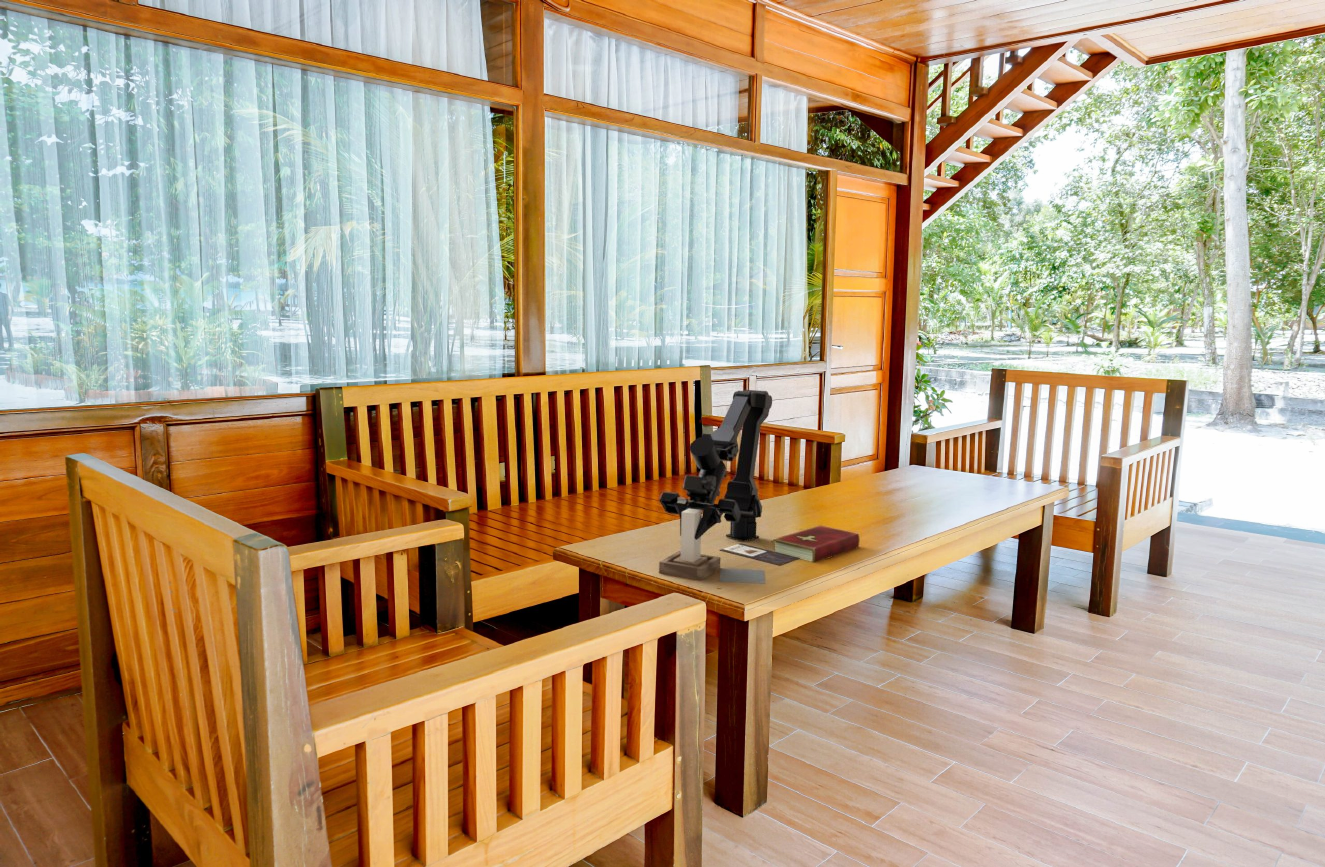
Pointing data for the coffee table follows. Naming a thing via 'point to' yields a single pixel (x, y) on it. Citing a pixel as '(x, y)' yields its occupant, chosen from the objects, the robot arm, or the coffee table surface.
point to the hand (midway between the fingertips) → (688, 537)
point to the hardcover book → (817, 543)
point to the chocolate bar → (760, 554)
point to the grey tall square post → (690, 539)
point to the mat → (742, 575)
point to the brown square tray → (689, 567)
